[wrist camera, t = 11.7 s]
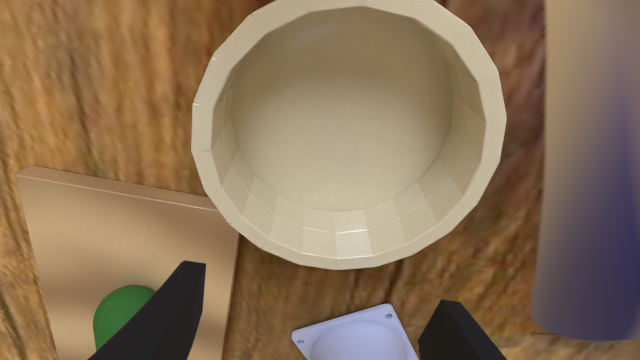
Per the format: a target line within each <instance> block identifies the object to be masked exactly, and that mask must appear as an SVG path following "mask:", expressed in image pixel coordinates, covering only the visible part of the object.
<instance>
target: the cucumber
mask: <svg viewBox="0 0 640 360" xmlns="http://www.w3.org/2000/svg"><path fill="white" fill-rule="evenodd" d="M154 294H155V292H154V291H153V290H151V289H150V288H148V287H145V286H140V285H127V286H123V287H121V288H118V289H116V290H114V291H112V292H111V293H110V294H108V295H107V296H106V297H105V298H104V299H103V300H102V301H101V303H100V304H99V305H98V307H97V309H96V311H95V314H94V318H93V332H94V339H95V346H96V351H97V350H98V349H100V348H101V347H102V346H103V345H104V344H105V343H106V342H107V341H108V340H109V339H110V338H111V337H112V336H113V335H114V334H115V333H116V332H117V331H119V330H120V329H121V328H122V327H123V326H124V325H125V324H126V323H127V322H128V321H129V320H130V319H131V318H132V317H133V316H134V315H135V314H136V313H137V312H138V310H139V309H140V308H141V307H142V306H143V305H144V304H145V303H146V302H147V301H148V300H149V299H150V298H151V297H152V296H153V295H154Z"/></svg>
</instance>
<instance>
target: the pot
mask: <svg viewBox="0 0 640 360" xmlns="http://www.w3.org/2000/svg"><path fill="white" fill-rule="evenodd" d="M506 118H507V116H506V111H505V105H504V100H503V95H502V89H501V84H500V79H499V73H498V71H497V68H496V66H495V65H494V63H493V61H492V60H491V58H490V57H489V55H488V54H487V52H486V50H485V49H484V47H483V46H482V44H481V42H480V41H479V39H478V38H477V36H476V35H475V33H474V31H473V30H472V28H471V27H469V26H468V24H466V23H465V22H464V21H462V20H461V19H459V18H458V17H457V16H455V15H454V14H452V13H451V12H450V11H448V10H447V9H445V8H444V7H443V6H441V5H440V4H438V3H437V2H436V1H434V0H273V1H271V2H269V3H267V4H266V5H264V6H262V7H261V8H259V9H257V10H256V11H254V12H252V13H251V14H250V15H248V16H247V17H246V19H245V20H244V21H243V22H242V23H241V24H240V25H239V26H238V27H237V28H236V29H235V31H234V32H233V33H232V34H231V35H230V36H229V37H228V38H227V39H226V40H225V41H224V42H223V44H222V45H221V46H220V47H219V48H218V49H217V50H216V51H215V52H214V53H213V56H212V57H211V59H210V61H209V64H208V66H207V69H206V71H205V74H204V76H203V79H202V81H201V84H200V86H199V88H198V91H197V93H196V96H195V98H194V103H193V104H192V136H191V149H192V150H191V151H192V154H193V157H194V160H195V164H196V167H197V170H198V173H199V176H200V179H201V182H202V185H203V189H204V191H205V192H206V194H207V195H208V197H209V198H210V199H211V201H212V202H213V203H214V205H215V206H216V208H217V209H218V210H219V212H220V213H221V215H222V216H223V217H224V219H225V220H226V221H227V223H228V224H229V225H230V226H231V227H233V228H234V229H235V230H237V231H238V232H239V233H240V234H242V235H243V236H244V237H246V238H247V239H248V240H249V241H251V242H252V243H253V244H255V245H256V246H257V247H259V248H261V249H262V250H264V251H267V252H269V253H271V254H274V255H276V256H279V257H281V258H283V259H286V260H288V261H291V262H293V263H295V264H296V263H297V264H298V265H304V266H311V267H317V268H324V269H331V270H345V269H358V268H370V267H375V266H376V267H377V266H380V265H384V264H387V263H390V262H393V261H396V260H399V259H402V258H405V257H408V256H411V255H414V254H415V253H417V252H419V251H420V250H422V249H424V248H425V247H427V246H428V245H430V244H432V243H433V242H435V241H437V240H438V239H440V238H441V237H443V236H445V235H446V234H448V232H451V231H452V230H453V229H454V228H455V227H456V226H457V224H458V223H459V222H460V221H461V220H462V219H463V218H464V217H465V216H466V215H467V214H468V213H469V212H470V211H471V210H472V209H473V208H474V207H475V206H476V205H477V204H478V201H479V200H480V198H481V197H482V195H483V193H484V191H485V189H486V187H487V185H488V183H489V181H490V179H491V177H492V176H493V174H494V172H495V170H496V168H497V166H498V163H499V162H500V156H501V150H502V144H503V139H504V133H505V127H506V121H507V119H506Z"/></svg>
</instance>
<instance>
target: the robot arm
mask: <svg viewBox="0 0 640 360" xmlns="http://www.w3.org/2000/svg"><path fill="white" fill-rule="evenodd" d="M205 274H206V263H199V262H193V261H186V260H184V261H183V262H181V263H180V264H179V265H178V267H177V268H176V269H175V270H174V272H173V273H172V274H171V275H170V276H169V278H168V279H167V280H166V281H165V282H164V283H163V285H162V286H161V287H160V288H159V289H158V290H157V291H156V292H155V294H154V295H153V296H152V297H151V298H150V299H149V300H148V301H147V302H146V303H145V304H144V305H143V306H142V307H141V308H140V309H139V310H138V312H137V313H136V314H135V315H134V316H133V317H132V318H131V319H130V320H129V321H128V322H127V323H126V324H125V325H124V326H123V327H122V328H121V329H120V330H119V331H117V332H116V333H115V334H114V335H113V336H112V337H111V338H110V339H109V340H108V341H107V342H106V343H105V344H104V345H103V346H102V347H101V348H100V349H98V350H97V351H96V352H95V353H94V354H93V355H92V356H91V357H90V358H88V359H87V360H187V358H188V356H189V353H190V351H191V348H192V346H193V342H194V339H195V336H196V332H197V329H198V325H199V322H200V318H201V315H202V311H203V300H204V287H205ZM291 339H292V341H293V342H294V343H295V345H296V346H297V347H298V348H299V350H300V351H301V352H302V354H303V355H304V356H305V358H306V359H307V360H419V359H418V357H417V355H416V353H415V351H414V349H413V347H412V345H411V343H410V341H409V339H408V337H407V335H406V333H405V331H404V329H403V327H402V325H401V323H400V321H399V319H398V317H397V315H396V313H395V311H394V309H393V307H392V305H390V304H381V305H378V306H375V307H371V308H368V309H365V310H361V311H358V312H355V313H351V314H348V315H345V316H341V317H338V318H335V319H331V320H328V321H325V322H321V323H318V324H315V325H311V326H308V327H305V328H301V329H298V330H295V331H293V332H292V334H291ZM418 344H419V352H420V359H421V360H507V359H506V358H505V357H504V356H503V354H502V353H501V352H500V351H499V349H498V348H497V347H496V346H495V345H494V343H493V342H492V341H491V340H490V338H489V337H488V336H487V335H486V333H485V332H484V331H483V330H482V328H481V327H480V326H479V325H478V324H477V322H476V321H475V320H474V319H473V317H472V316H471V315H470V314H469V313H468V311H467V310H466V309H465V308H464V307H463V305H462V304H461V303H460V302H455V301H448V300H442V299H441V301H440V303H439V305H438V306H437V308H436V310H435V312H434V313H433V315H432V317H431V319H430V320H429V322H428V324H427V326H426V327H425V329H424V331H423V333H422V334H421V336H420V338H419V340H418Z"/></svg>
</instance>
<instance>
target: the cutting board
mask: <svg viewBox="0 0 640 360" xmlns="http://www.w3.org/2000/svg"><path fill="white" fill-rule="evenodd" d="M15 177H16V181H17V185H18V189H19V194H20V198H21V202H22V206H23V211H24V215H25V219H26V223H27V228H28V232H29V236H30V240H31V245H32V249H33V253H34V257H35V262H36V266H37V270H38V274H39V279H40V283H41V287H42V291H43V296H44V300H45V304H46V308H47V313H48V317H49V321H50V325H51V330H52V334H53V338H54V342H55V347H56V351H57V355H58V359H59V360H87V359H88V358H90V357H91V356H92V355H93V354H94V353H95V352H96V346H95V339H94V332H93V318H94V314H95V311H96V309H97V307H98V305H99V304H100V303H101V301H102V300H103V299H104V298H105V297H106V296H107V295H108V294H110V293H111V292H112V291H114V290H116V289H118V288H121V287H123V286H127V285H140V286H145V287H148V288H150V289H151V290H153V291H154V292H156V291H157V290H158V289H159V288H160V287H161V286H162V285H163V283H164V282H165V281H166V280H167V279H168V278H169V276H170V275H171V274H172V273H173V272H174V270H175V269H176V268H177V267H178V265H179V264H180V263H181V262H183V261H184V260H186V261H193V262H199V263H206V274H205V287H204V300H203V311H202V315H201V318H200V322H199V325H198V329H197V332H196V336H195V339H194V342H193V346H192V348H191V351H190V353H189V356H188V358H187V360H223V354H224V347H225V340H226V333H227V327H228V320H229V313H230V306H231V299H232V293H233V286H234V279H235V272H236V265H237V259H238V252H239V245H240V238H241V234H240V233H239V232H238V231H237V230H235V229H234V228H233V227H231V226H230V225H229V224H228V223H227V221H226V220H225V219H224V217H223V216H222V215H221V213H220V212H219V210H218V209H217V208H216V206H215V205H214V203H213V202H212V201H211V199H210V198H209V197H205V196H199V195H194V194H188V193H183V192H177V191H172V190H166V189H161V188H155V187H150V186H144V185H139V184H133V183H128V182H122V181H117V180H111V179H106V178H100V177H95V176H89V175H84V174H78V173H73V172H67V171H62V170H56V169H50V168H45V167H39V166H34V165H29V166H28V167H26V168H25V169H23V170H22V171H20V172H19V173H17V174H16V175H15Z"/></svg>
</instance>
